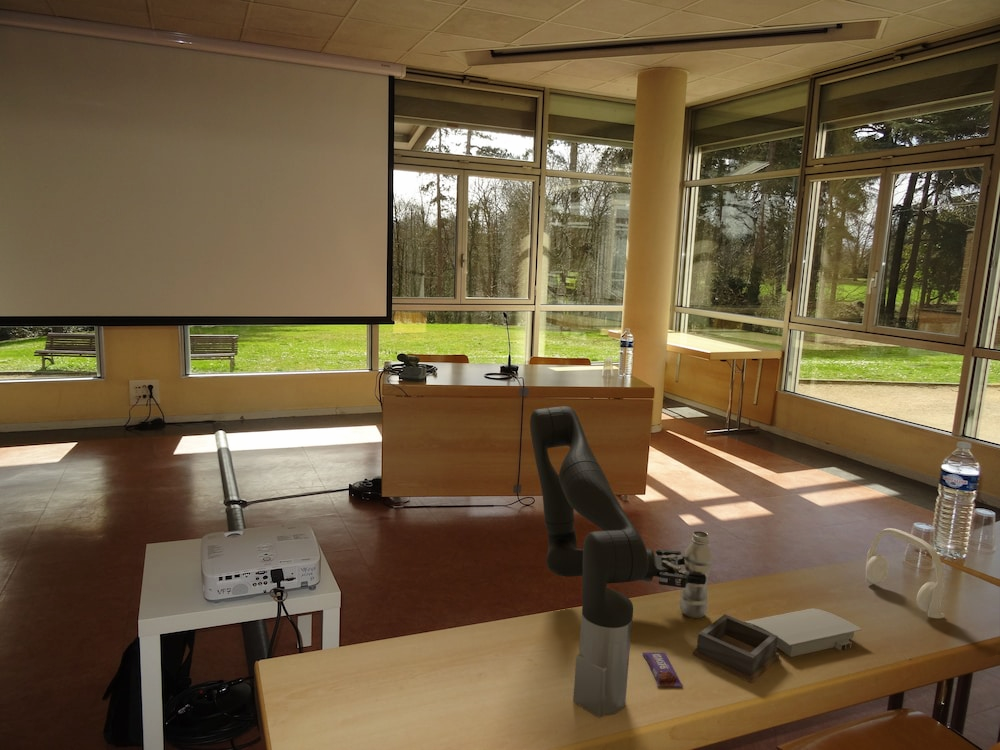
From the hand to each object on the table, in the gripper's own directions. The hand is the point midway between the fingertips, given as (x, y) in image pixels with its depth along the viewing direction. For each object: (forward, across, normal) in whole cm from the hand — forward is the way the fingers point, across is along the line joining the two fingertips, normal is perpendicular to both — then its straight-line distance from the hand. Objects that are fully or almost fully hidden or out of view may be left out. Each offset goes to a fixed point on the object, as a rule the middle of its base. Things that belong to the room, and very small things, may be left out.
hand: (703, 571), depth 162 cm
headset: (+51, +19, +11) cm, 56 cm away
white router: (+22, -4, +12) cm, 26 cm away
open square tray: (+6, -16, +11) cm, 20 cm away
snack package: (-10, -25, +12) cm, 29 cm away
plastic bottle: (-1, 0, +11) cm, 11 cm away
